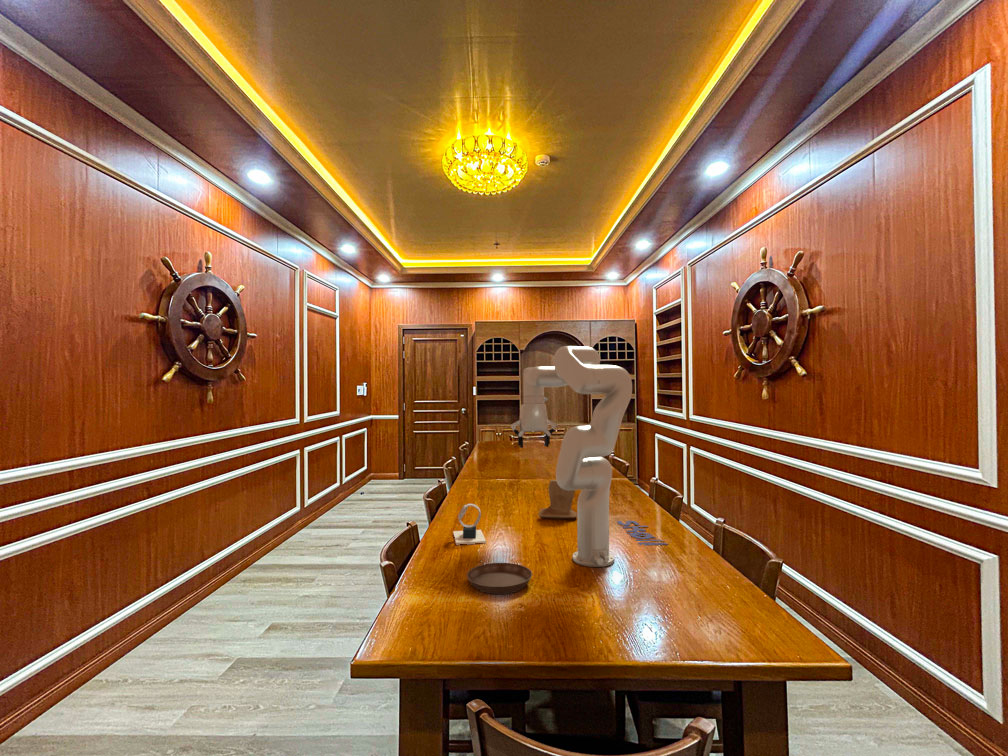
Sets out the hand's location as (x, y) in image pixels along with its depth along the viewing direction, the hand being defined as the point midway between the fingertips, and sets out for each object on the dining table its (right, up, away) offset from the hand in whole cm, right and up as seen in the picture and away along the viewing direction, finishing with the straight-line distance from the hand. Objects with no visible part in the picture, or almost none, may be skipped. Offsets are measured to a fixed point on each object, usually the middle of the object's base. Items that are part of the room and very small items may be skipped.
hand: (533, 446), depth 187 cm
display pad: (-23, -30, -11) cm, 40 cm away
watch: (-23, -30, -11) cm, 39 cm away
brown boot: (+11, -31, +16) cm, 36 cm away
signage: (+38, -31, -5) cm, 49 cm away
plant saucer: (-12, -31, -50) cm, 60 cm away
